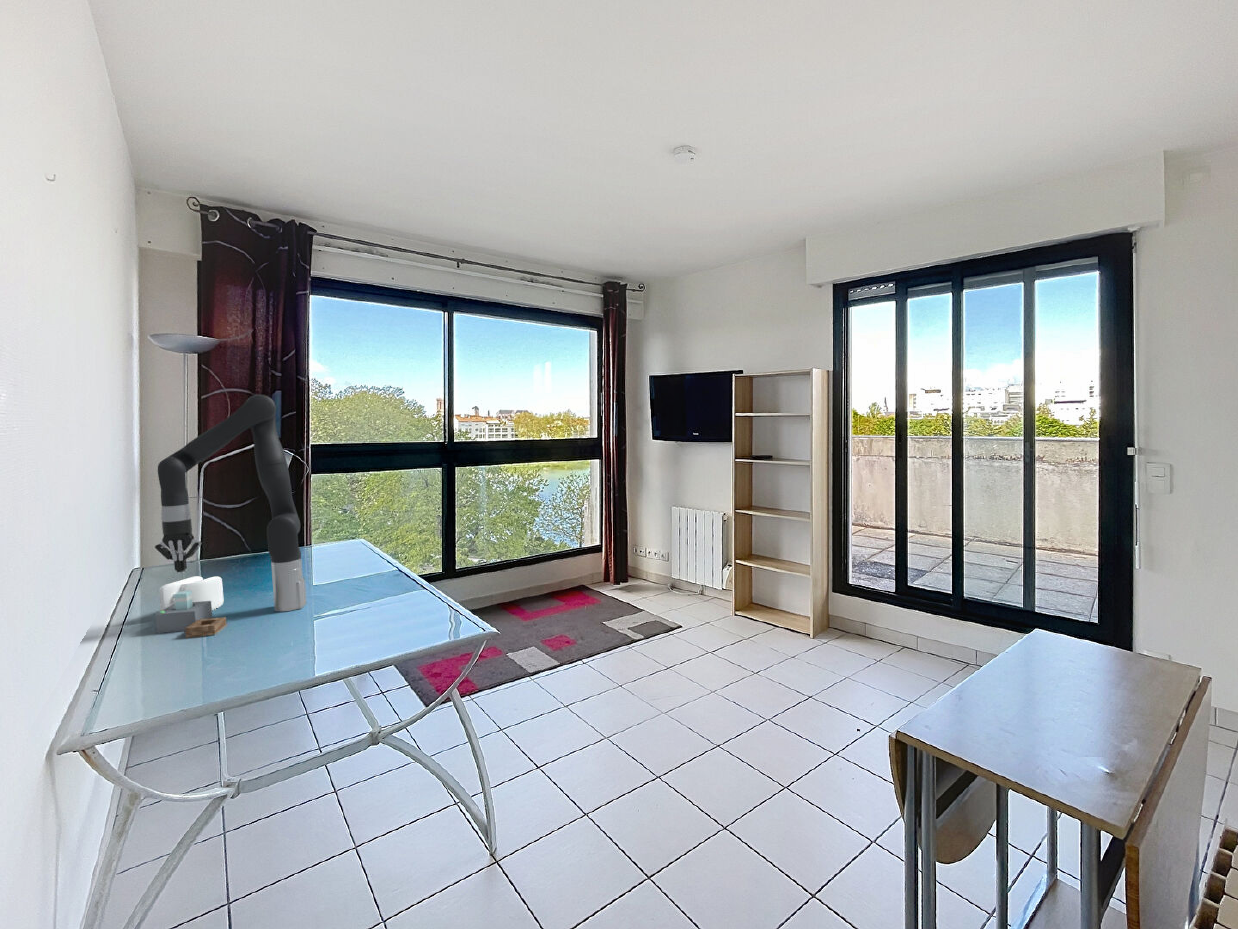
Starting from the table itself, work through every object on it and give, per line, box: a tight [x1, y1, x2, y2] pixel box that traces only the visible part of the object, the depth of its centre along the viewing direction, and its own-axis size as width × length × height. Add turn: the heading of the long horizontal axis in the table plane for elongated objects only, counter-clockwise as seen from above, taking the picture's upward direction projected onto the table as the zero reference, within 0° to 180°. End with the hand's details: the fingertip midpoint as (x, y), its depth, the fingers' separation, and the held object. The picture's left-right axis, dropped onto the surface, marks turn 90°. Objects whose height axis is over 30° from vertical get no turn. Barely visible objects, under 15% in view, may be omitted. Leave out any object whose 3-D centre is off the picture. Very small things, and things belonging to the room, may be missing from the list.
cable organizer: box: [158, 575, 225, 612], centre depth 201 cm, size 15×11×12 cm
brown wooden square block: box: [184, 616, 227, 639], centre depth 182 cm, size 8×8×3 cm
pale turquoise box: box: [174, 591, 193, 610], centre depth 188 cm, size 4×4×10 cm
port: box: [154, 601, 213, 634], centre depth 189 cm, size 11×11×6 cm
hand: (180, 571), depth 187 cm, fingers closed
